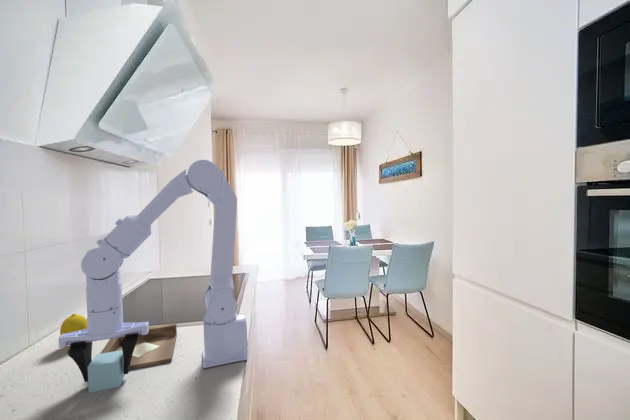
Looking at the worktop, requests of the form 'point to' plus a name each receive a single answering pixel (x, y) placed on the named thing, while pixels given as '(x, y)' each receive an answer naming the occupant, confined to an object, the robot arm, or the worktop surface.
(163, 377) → the worktop surface
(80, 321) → the lemon
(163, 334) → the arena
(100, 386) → the cube
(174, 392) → the worktop surface
